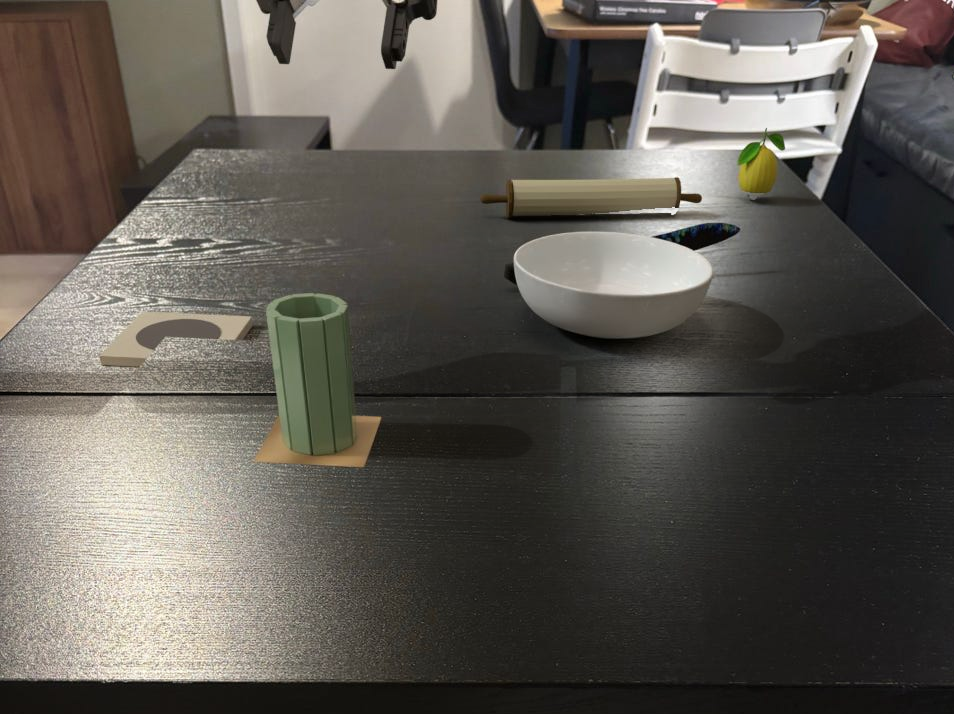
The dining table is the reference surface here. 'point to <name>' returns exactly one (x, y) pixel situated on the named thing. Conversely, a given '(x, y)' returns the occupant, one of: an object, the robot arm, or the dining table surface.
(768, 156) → the lemon
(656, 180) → the rolling pin
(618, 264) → the serving bowl
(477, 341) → the dining table surface
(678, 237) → the knife
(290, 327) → the ceramic tube
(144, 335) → the plate
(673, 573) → the dining table surface
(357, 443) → the peg stand
